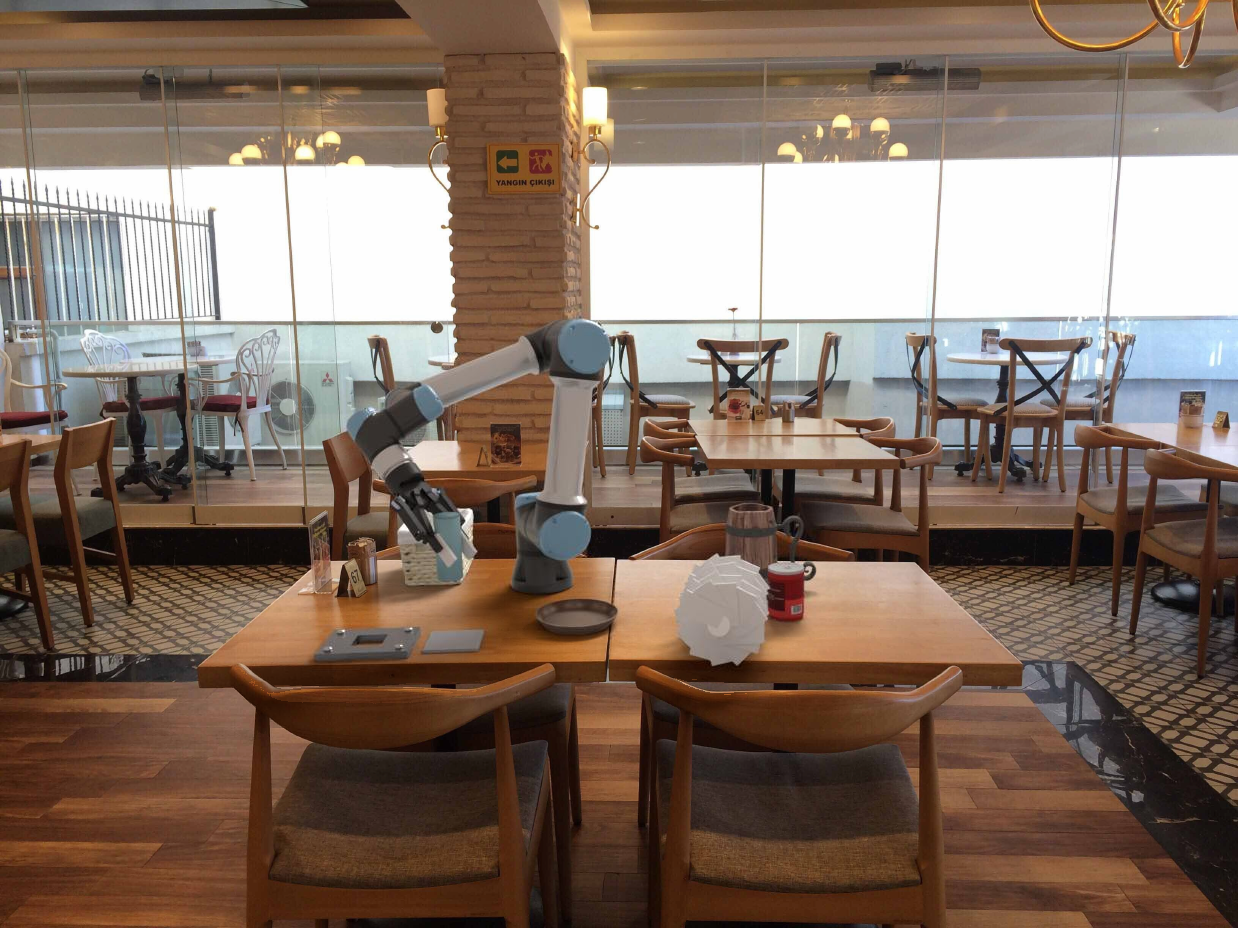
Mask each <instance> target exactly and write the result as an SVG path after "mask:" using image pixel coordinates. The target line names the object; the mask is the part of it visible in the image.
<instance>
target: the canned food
mask: <svg viewBox="0 0 1238 928" xmlns="http://www.w3.org/2000/svg"><path fill="white" fill-rule="evenodd" d="M804 575H805V572H804V566H803V564H800V563H798V562H795V563H792V562H791V561H789V562H788V561H780V562H778V563H774V564H771V565H769V566H768V586H769V588H770V589H768V600H767V608H768V612H769V614H768V617H769V618H770V619H772V620H774V621H777V622H786V623H787V622H790V623H791V622H796V621H799V620H801V619H802V618H803V617H804V613H805V581H804Z"/></svg>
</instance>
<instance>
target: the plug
mask: <svg viewBox="0 0 1238 928" xmlns="http://www.w3.org/2000/svg"><path fill="white" fill-rule="evenodd" d="M433 518H434V520H433V525H434V533H435V535H436V534H438V533H439V534H440V535H441V537H442V538H443V540H444V541H445V542H446V544H447V545H448V546H449V548H450V549H451V551H452V552H453V553H454V555H455V556H456V557H457V559H456V561H455V562H454V563H453V564H452V566H451V567H447V565H446V564H445V563H444V561H443V560H442V559H441V557H440V556H439V554H438V553H436V566H437V579H438V580H440V581H456V580H459V579H462V578H463V562H462V545H461V527H460V514H459V513H457V512H443V513H437V514H435V515H433Z"/></svg>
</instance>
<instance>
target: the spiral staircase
mask: <svg viewBox="0 0 1238 928" xmlns="http://www.w3.org/2000/svg"><path fill="white" fill-rule="evenodd" d="M759 570H760V568H759V567H757V566H755V565H753V564H750V563H748V562H746V561H744V560H741V557H740V555H739V556H727V557H725V556H720V555H719V554H718V553H716V554H714V555H712V556H711V557H710V558H708V559H706V560H704V562H702V563H700V564H699V563H697V562H696V563H694V566H693V568H692V571H691V573H689V575H688V578H687V580H685V581H684V585H685V587H684V589H683V591H682V592H680V595H678V598H679V599H678V600H679V605H678V607H675V608H673V610H674V614H675V617H676V620H677V621H676V622H677V623H678V624H677V625H678V627H679V629H678V630H676V632H675V634H676V635H677V636H678V637H679V638H680V640H681V641H683V642H684V644H686V645H687V646H688V647H689V648H690V651H689V655H690V656H694V657H697V658H701V659H705V660H708V661H710V664H711V666H712V667H714V666H718V665H722V664H727V663H731V662H732V663H733V664H735V665H736V666H738V665H740V664H741V663H742V661H744V660H745V659H746V658H747V657H748V656H749V655H750V654H751V653H754V654H759V650H760V646H761V644H765V623H766V621H768V617H769V612H768V600H767V599H766V595H767V594H768V592H767V590H768V589H770V588H769V586H768V585H767V583H766V582H765V581H764V579H763V578H762V577H761V575H760V574H759V573H758V572H759Z"/></svg>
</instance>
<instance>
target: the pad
mask: <svg viewBox="0 0 1238 928" xmlns="http://www.w3.org/2000/svg"><path fill="white" fill-rule="evenodd" d="M484 635H485V629H465V630H463V629H462V630H461V629H460V630H459V629H458V630H436V631H434V630H432V631H431V632H430V635H429V636H428V639H427V641H426V643H425V644H424V646H423V649H422V654H434V653H435V654H437V653H438V654H439V653H461V652H462V653H466V652H468V653H469V652H479V651H480V647H481V645H482V642H483V641H482V640H483V638H484Z"/></svg>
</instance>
